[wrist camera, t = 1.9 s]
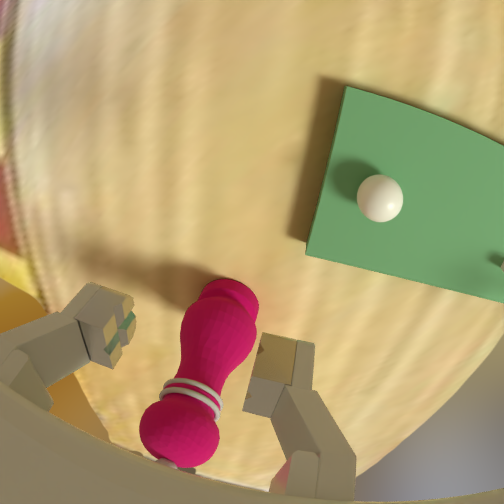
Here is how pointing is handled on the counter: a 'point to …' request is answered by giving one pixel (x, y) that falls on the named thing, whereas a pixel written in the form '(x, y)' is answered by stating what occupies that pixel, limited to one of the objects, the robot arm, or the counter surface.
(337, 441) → the robot arm
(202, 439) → the pepper mill
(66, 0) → the counter surface
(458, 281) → the green
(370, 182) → the ball
